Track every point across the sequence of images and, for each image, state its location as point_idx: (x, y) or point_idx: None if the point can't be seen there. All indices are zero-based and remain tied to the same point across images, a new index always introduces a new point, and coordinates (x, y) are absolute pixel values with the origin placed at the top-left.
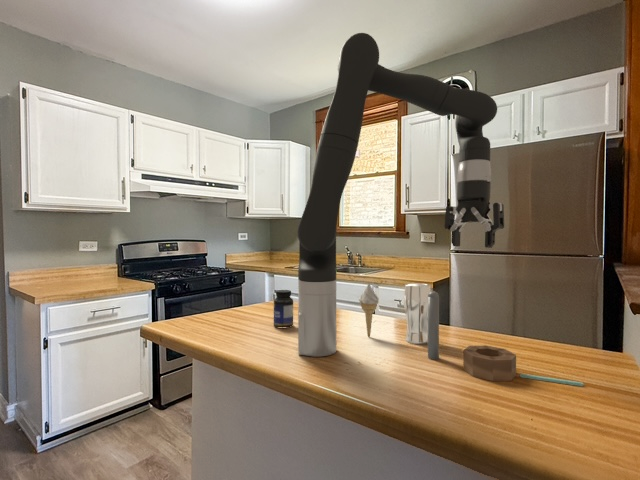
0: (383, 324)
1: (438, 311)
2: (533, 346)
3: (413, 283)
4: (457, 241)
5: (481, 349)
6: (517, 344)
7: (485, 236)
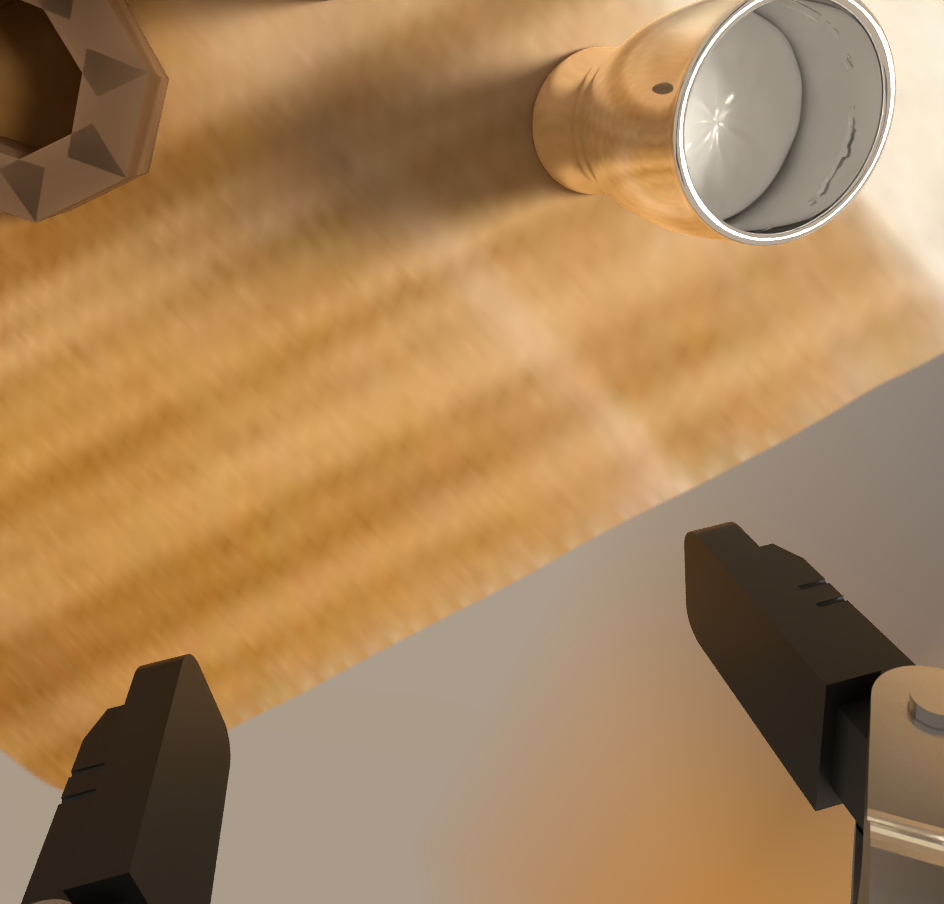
0: (939, 180)
1: None
2: (284, 587)
3: (868, 161)
4: (721, 617)
5: (79, 96)
6: (334, 550)
7: (140, 785)
